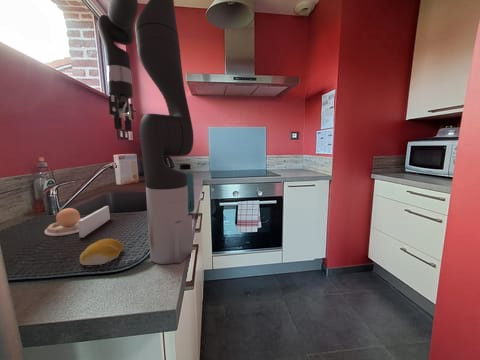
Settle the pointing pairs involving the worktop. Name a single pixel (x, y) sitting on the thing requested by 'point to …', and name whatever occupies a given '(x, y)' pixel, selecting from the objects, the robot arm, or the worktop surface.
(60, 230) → the saucer
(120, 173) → the cracker box
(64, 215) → the ball
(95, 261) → the bread roll
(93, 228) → the wall
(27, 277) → the worktop surface
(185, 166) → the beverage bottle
